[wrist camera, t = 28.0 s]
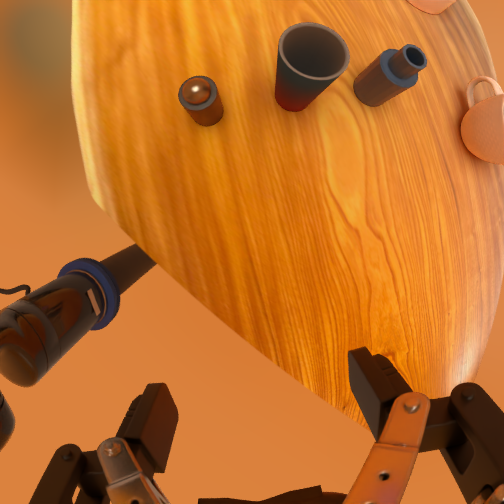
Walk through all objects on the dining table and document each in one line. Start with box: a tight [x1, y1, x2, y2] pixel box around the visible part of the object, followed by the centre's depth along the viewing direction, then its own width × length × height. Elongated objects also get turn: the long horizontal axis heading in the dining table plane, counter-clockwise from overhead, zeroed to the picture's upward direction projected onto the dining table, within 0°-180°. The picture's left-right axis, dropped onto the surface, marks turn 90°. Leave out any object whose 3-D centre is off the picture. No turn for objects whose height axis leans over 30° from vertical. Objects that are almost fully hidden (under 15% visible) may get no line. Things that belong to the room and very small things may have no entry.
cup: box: [275, 22, 350, 112], centre depth 29 cm, size 7×7×15 cm
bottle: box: [354, 44, 427, 106], centre depth 29 cm, size 5×5×14 cm
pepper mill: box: [178, 76, 223, 126], centre depth 32 cm, size 4×4×10 cm
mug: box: [461, 76, 504, 165], centre depth 30 cm, size 15×11×13 cm
